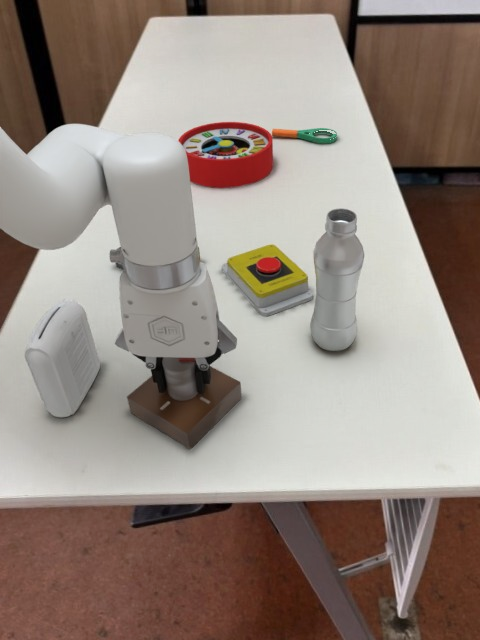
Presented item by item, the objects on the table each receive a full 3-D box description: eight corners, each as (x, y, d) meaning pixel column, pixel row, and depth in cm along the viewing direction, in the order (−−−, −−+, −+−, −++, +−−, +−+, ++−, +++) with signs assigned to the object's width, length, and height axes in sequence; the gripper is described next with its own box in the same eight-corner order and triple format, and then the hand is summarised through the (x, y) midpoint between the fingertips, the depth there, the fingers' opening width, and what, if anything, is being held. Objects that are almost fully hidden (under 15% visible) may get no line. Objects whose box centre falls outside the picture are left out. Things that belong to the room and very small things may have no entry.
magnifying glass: (337, 133, 136) (337, 126, 134) (336, 144, 131) (336, 137, 130) (274, 131, 137) (274, 124, 136) (270, 141, 133) (270, 134, 132)
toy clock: (292, 142, 118) (210, 169, 110) (291, 169, 122) (212, 197, 114) (237, 114, 131) (160, 137, 122) (239, 139, 135) (164, 163, 126)
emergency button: (263, 294, 83) (217, 246, 92) (263, 318, 85) (219, 268, 95) (316, 275, 86) (267, 230, 96) (315, 298, 89) (267, 252, 99)
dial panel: (130, 412, 72) (126, 395, 70) (183, 367, 78) (181, 350, 76) (190, 449, 68) (187, 432, 66) (241, 398, 74) (240, 380, 71)
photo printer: (76, 360, 79) (52, 289, 71) (105, 363, 79) (84, 292, 71) (42, 416, 72) (11, 344, 64) (74, 420, 71) (47, 348, 63)
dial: (164, 400, 69) (158, 369, 66) (171, 376, 72) (165, 345, 69) (197, 401, 69) (192, 370, 66) (202, 378, 72) (198, 347, 69)
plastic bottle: (323, 362, 78) (332, 235, 65) (301, 333, 83) (304, 209, 69) (364, 349, 80) (380, 223, 67) (340, 321, 85) (351, 197, 71)
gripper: (70, 281, 56) (108, 406, 68) (241, 284, 55) (248, 410, 67) (92, 240, 61) (123, 362, 74) (247, 242, 60) (253, 365, 73)
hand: (183, 384), depth 70 cm, fingers closed on dial, 4 cm apart
